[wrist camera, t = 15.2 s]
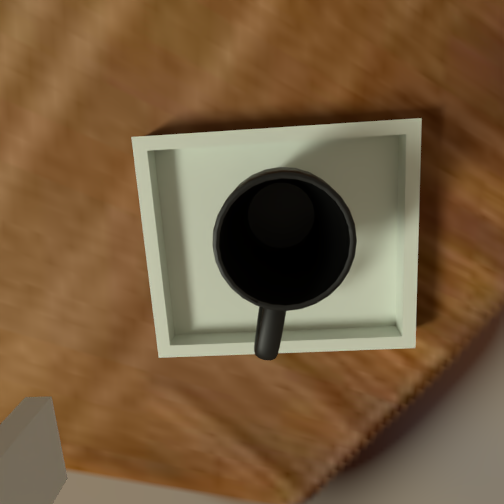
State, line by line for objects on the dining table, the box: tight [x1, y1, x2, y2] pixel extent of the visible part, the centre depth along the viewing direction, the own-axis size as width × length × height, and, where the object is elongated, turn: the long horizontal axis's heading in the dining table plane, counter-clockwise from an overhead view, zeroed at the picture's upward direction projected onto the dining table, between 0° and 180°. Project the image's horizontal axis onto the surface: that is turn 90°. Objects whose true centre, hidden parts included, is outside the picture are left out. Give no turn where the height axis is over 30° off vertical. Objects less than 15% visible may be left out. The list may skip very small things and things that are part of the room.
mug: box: [213, 167, 357, 360], centre depth 31 cm, size 8×12×10 cm
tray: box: [131, 118, 422, 358], centre depth 35 cm, size 17×20×3 cm
